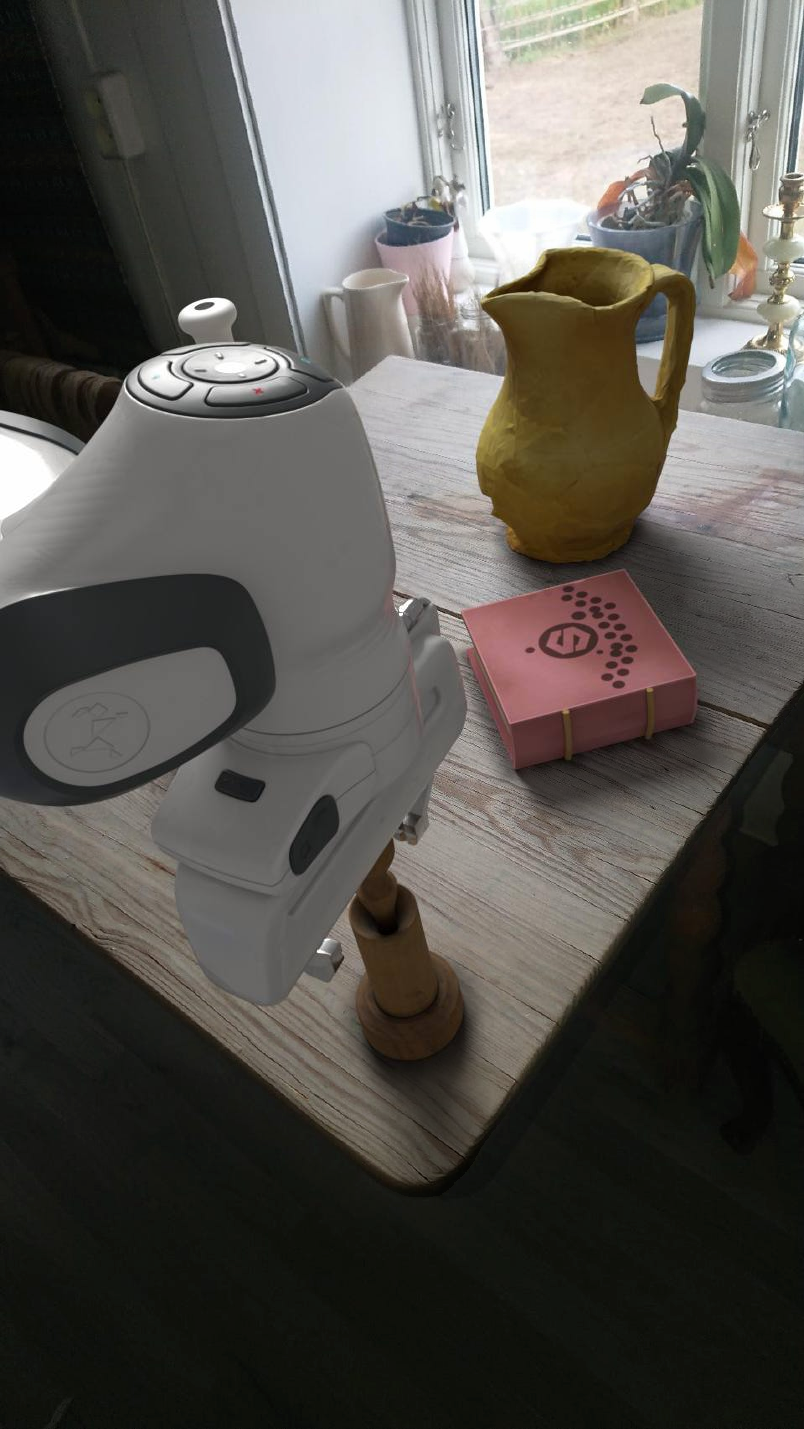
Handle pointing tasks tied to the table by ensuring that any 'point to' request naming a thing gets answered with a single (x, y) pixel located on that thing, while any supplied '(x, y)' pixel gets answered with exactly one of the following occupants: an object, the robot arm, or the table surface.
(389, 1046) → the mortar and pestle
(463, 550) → the table surface
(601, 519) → the pitcher
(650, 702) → the book
